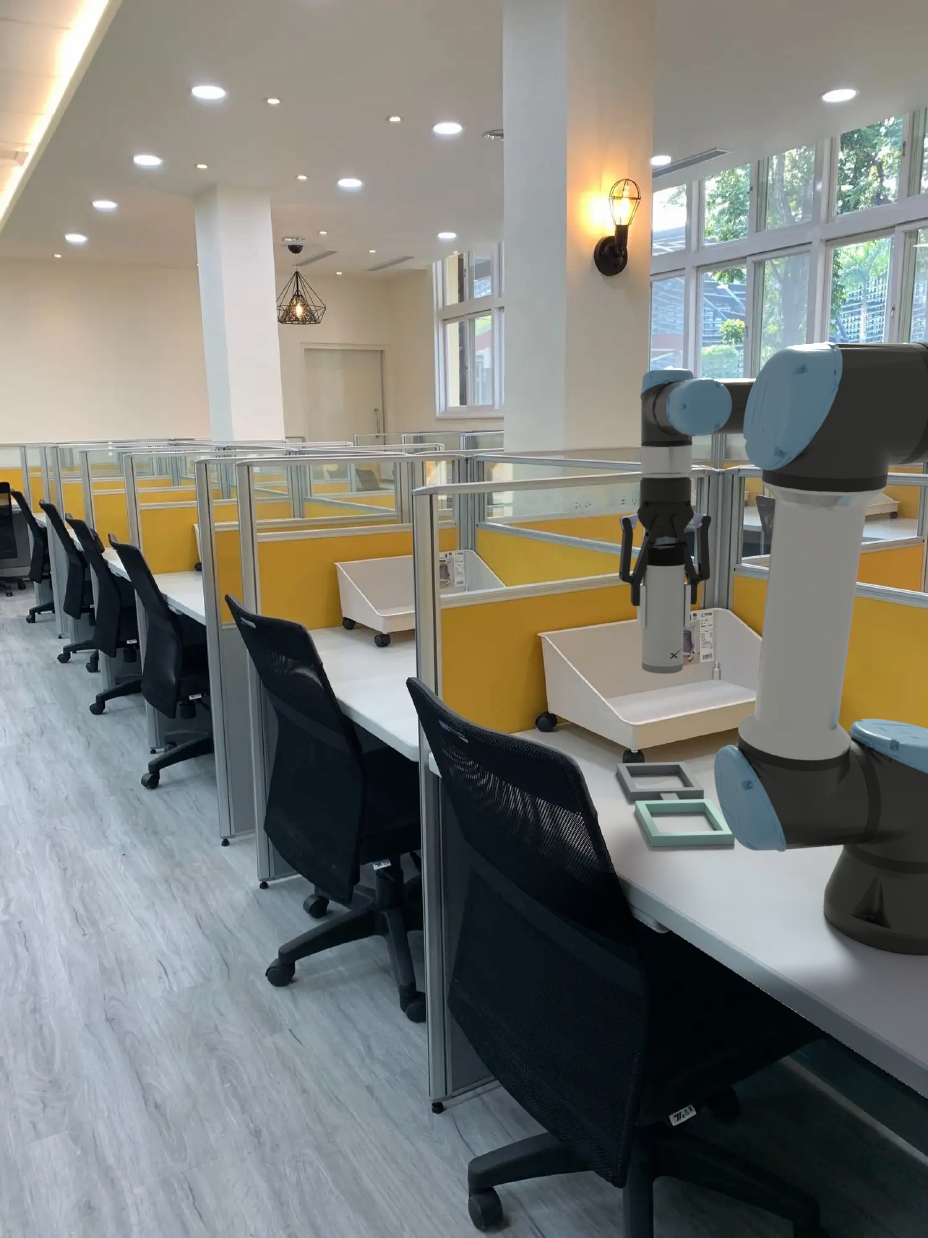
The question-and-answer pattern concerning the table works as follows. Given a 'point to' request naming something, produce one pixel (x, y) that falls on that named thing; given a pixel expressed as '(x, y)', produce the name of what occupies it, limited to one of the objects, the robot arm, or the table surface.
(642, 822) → the frame
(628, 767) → the frame
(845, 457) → the robot arm
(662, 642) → the travel mug
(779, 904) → the table surface
